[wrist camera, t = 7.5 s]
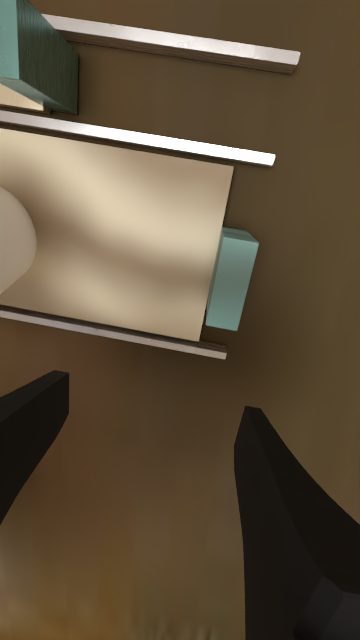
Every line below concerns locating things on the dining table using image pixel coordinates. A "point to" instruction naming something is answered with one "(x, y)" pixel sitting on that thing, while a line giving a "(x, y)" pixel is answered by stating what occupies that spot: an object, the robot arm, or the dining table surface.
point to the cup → (14, 240)
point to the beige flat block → (126, 236)
